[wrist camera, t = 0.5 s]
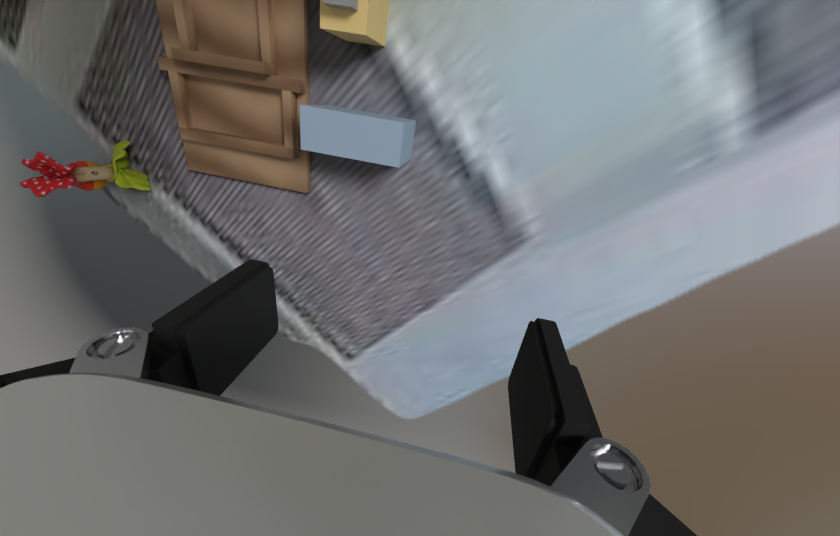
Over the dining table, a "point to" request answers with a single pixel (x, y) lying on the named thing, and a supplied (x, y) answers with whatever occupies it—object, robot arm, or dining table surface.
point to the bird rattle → (84, 173)
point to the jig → (240, 86)
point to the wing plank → (356, 134)
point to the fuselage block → (355, 20)
